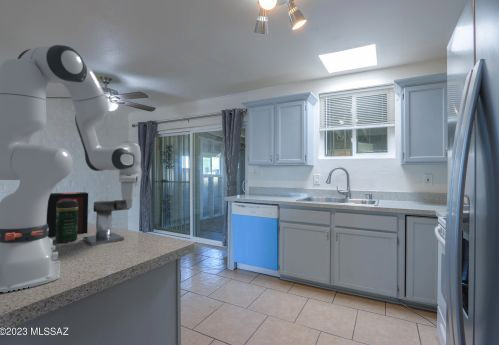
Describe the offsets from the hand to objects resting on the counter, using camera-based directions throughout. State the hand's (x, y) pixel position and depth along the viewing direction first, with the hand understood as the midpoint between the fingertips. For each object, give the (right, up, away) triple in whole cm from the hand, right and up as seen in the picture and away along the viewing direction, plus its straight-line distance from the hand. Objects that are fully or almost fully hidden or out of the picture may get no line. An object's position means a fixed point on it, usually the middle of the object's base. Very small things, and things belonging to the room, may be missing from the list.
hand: (129, 208), depth 117 cm
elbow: (-9, -2, +2) cm, 9 cm away
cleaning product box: (-36, -14, +10) cm, 40 cm away
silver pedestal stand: (-11, -15, 0) cm, 18 cm away
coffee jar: (-27, -14, -2) cm, 31 cm away
